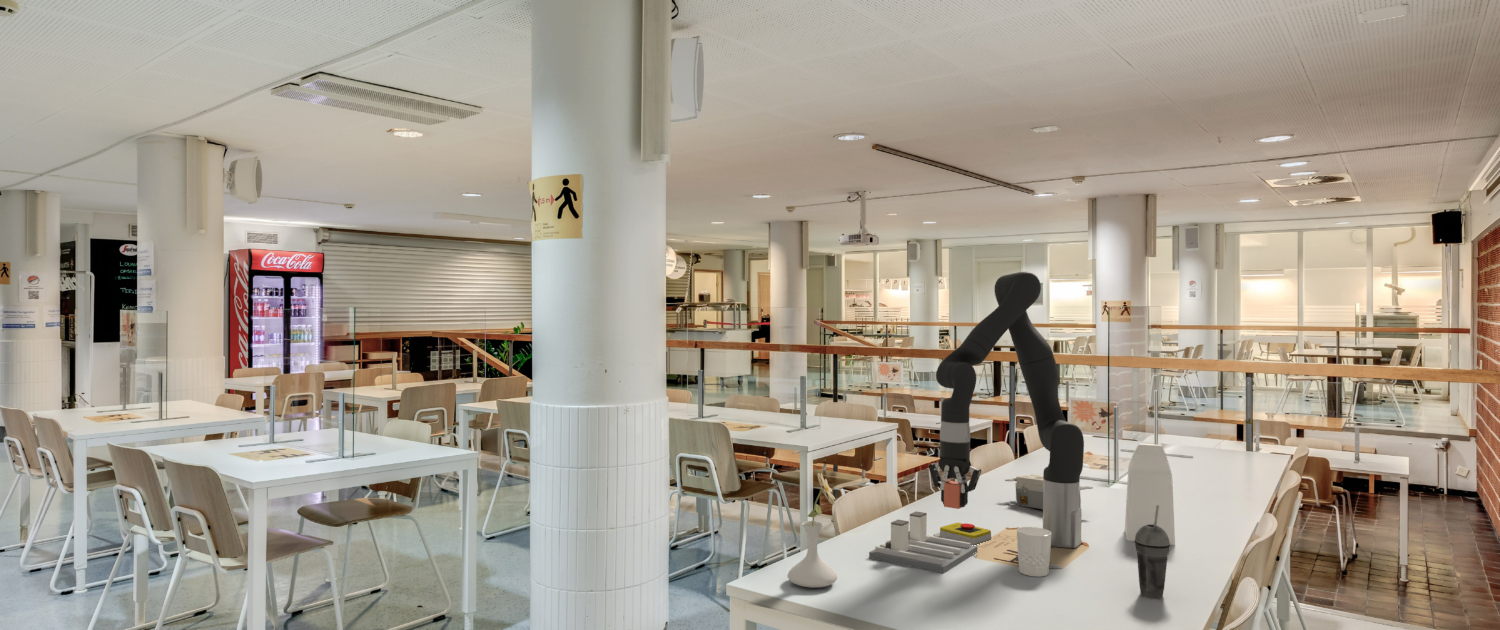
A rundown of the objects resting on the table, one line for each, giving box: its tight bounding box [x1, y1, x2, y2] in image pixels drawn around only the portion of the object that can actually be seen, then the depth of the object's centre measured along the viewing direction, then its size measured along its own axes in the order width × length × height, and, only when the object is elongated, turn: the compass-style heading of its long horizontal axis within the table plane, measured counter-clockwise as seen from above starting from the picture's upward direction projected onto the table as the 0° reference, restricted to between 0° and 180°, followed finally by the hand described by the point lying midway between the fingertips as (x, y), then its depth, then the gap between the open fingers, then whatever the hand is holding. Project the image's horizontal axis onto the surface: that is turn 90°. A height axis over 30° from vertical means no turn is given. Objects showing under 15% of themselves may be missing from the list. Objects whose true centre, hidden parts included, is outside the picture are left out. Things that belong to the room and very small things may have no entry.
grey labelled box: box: [1004, 473, 1094, 510], centre depth 265 cm, size 12×28×10 cm, turn 31°
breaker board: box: [868, 530, 978, 574], centre depth 213 cm, size 20×22×4 cm
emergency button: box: [932, 522, 992, 546], centre depth 229 cm, size 9×4×15 cm
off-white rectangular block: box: [909, 510, 928, 542], centre depth 219 cm, size 3×4×7 cm
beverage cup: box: [1133, 505, 1171, 600], centre depth 184 cm, size 7×7×20 cm
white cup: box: [1016, 526, 1052, 578], centre depth 199 cm, size 8×8×10 cm
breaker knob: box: [890, 519, 910, 552], centre depth 210 cm, size 3×4×7 cm
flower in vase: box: [787, 472, 838, 589], centre depth 190 cm, size 13×11×25 cm
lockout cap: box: [943, 480, 963, 510], centre depth 213 cm, size 4×4×6 cm
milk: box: [1124, 443, 1176, 546], centre depth 232 cm, size 12×12×26 cm
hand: (954, 505), depth 213 cm, fingers closed on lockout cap, 4 cm apart
